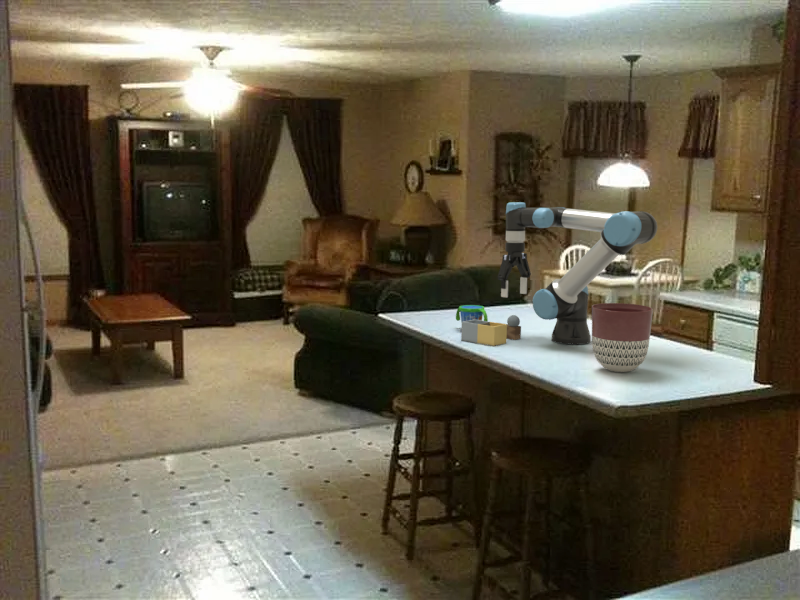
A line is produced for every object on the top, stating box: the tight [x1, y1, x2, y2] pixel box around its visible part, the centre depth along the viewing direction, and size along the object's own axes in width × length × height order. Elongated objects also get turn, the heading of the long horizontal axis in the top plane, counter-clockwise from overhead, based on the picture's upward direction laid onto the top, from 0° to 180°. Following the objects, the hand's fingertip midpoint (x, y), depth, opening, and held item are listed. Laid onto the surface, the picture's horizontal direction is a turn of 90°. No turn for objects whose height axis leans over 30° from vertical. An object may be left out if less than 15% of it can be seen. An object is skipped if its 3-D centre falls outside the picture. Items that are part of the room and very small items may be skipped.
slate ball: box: [506, 314, 521, 327], centre depth 330 cm, size 5×5×5 cm
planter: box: [591, 302, 654, 373], centre depth 274 cm, size 20×20×21 cm
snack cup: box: [455, 304, 489, 323], centre depth 347 cm, size 16×10×10 cm
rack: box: [500, 322, 522, 341], centre depth 333 cm, size 12×4×5 cm, turn 47°
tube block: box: [460, 319, 508, 347], centre depth 322 cm, size 16×8×8 cm, turn 47°
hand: (514, 295), depth 328 cm, fingers open, 13 cm apart
